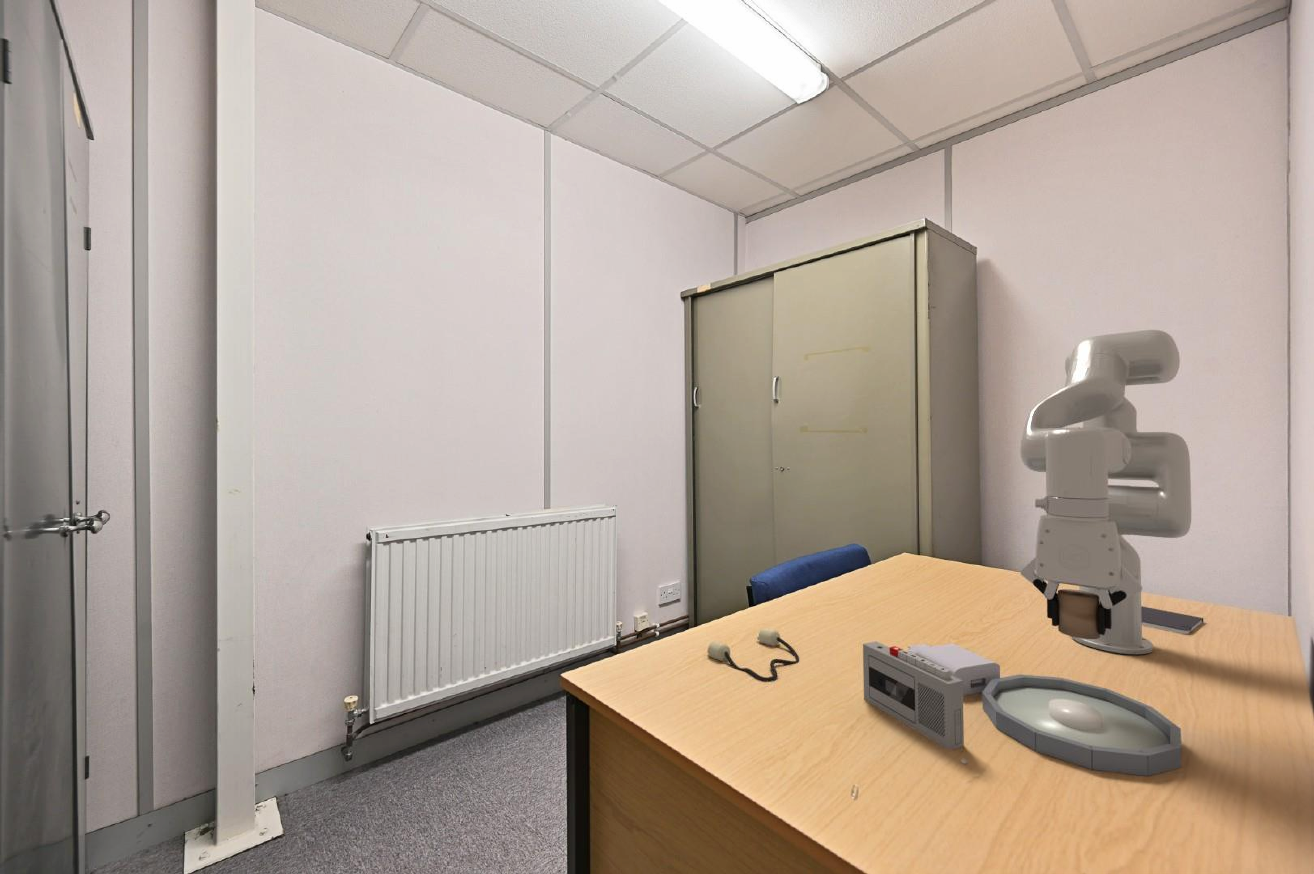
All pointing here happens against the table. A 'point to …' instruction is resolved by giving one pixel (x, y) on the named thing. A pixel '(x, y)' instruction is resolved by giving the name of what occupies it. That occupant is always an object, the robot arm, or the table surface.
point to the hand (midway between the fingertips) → (1078, 626)
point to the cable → (765, 636)
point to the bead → (1078, 613)
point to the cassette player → (915, 692)
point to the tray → (1083, 724)
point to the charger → (960, 665)
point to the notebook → (1169, 620)
